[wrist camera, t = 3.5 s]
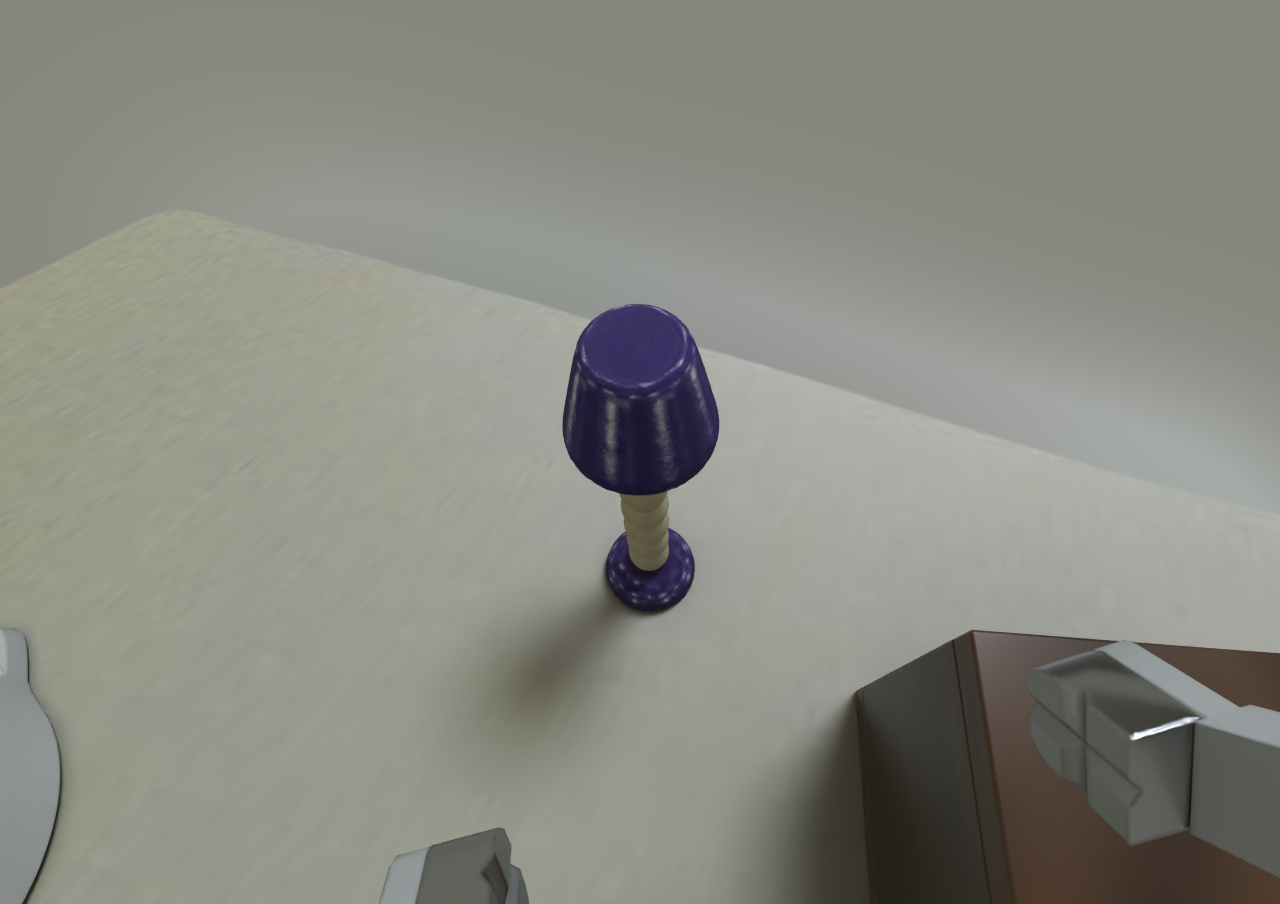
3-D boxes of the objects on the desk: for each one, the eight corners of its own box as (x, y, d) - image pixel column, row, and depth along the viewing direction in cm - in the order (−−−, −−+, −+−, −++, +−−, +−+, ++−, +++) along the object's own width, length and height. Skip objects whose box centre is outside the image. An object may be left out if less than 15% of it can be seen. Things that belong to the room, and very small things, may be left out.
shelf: (875, 990, 22) (1058, 1186, 11) (855, 690, 26) (970, 628, 16) (1344, 1052, 20) (2062, 1344, 10) (1234, 723, 25) (1639, 679, 14)
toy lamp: (621, 509, 31) (567, 264, 16) (712, 527, 30) (741, 287, 16) (596, 601, 29) (508, 414, 14) (694, 623, 28) (707, 449, 13)
